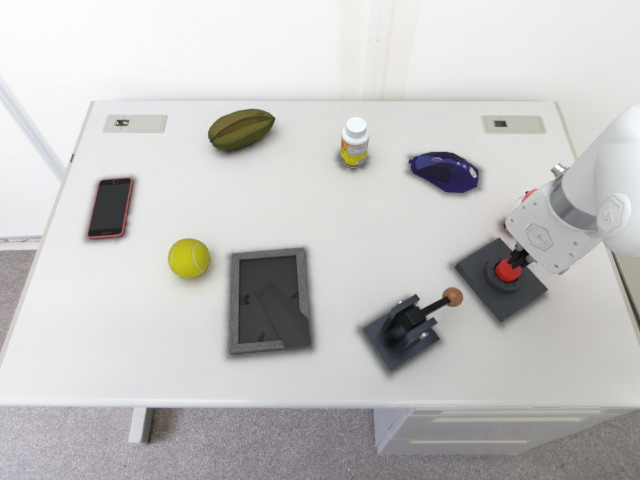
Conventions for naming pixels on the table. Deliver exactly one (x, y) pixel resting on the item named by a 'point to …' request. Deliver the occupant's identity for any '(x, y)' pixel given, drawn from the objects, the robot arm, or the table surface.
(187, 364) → the table surface
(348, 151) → the supplement bottle
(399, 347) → the switch bracket
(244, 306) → the picture frame
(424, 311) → the switch lever
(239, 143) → the fruit
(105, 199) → the smartphone
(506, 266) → the button
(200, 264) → the tennis ball
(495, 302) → the grey base plate
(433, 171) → the computer mouse
